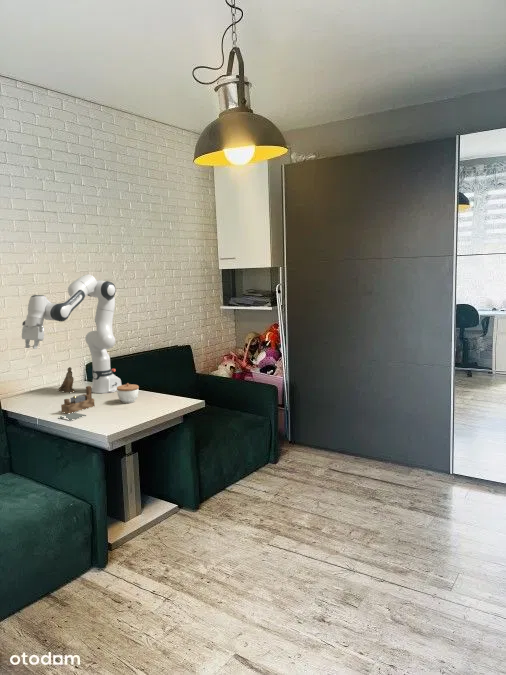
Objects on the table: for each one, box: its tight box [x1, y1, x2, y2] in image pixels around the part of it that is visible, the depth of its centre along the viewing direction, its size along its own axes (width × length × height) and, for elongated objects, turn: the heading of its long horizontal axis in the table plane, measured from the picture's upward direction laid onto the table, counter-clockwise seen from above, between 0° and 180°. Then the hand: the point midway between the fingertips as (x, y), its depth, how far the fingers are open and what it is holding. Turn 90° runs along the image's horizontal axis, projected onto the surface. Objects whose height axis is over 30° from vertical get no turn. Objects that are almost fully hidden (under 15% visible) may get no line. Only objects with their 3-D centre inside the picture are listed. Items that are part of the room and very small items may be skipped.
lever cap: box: [69, 394, 85, 404], centre depth 279 cm, size 7×4×4 cm, turn 150°
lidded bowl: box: [116, 382, 140, 404], centre depth 295 cm, size 13×13×11 cm
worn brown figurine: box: [58, 366, 76, 393], centre depth 321 cm, size 12×6×18 cm, turn 56°
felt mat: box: [59, 412, 87, 421], centre depth 265 cm, size 10×10×1 cm
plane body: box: [60, 385, 95, 414], centre depth 279 cm, size 18×6×12 cm, turn 150°
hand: (31, 348), depth 273 cm, fingers open, 8 cm apart
